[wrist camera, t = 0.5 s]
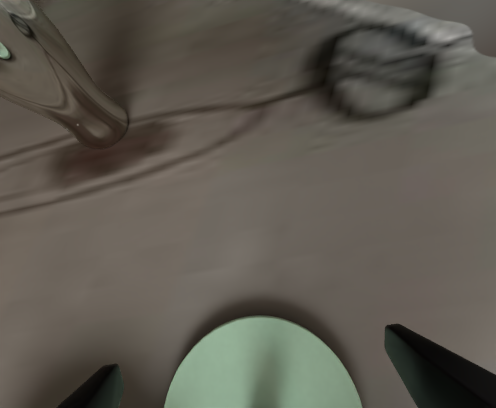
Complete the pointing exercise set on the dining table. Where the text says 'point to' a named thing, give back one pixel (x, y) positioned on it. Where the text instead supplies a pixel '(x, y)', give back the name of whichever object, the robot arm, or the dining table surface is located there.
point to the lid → (261, 369)
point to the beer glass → (53, 77)
